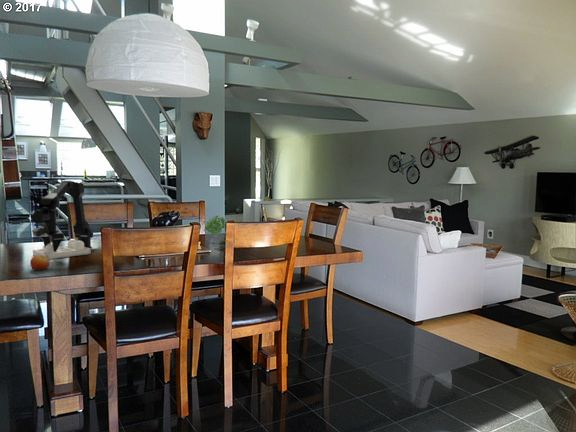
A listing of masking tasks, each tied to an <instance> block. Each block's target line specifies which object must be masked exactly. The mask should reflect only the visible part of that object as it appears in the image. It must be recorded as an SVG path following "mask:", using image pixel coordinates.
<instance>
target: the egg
mask: <svg viewBox="0 0 576 432" xmlns="http://www.w3.org/2000/svg"><path fill="white" fill-rule="evenodd" d="M44 249H45V252H46V253H55V252H54V250H53V245H52V243H50V244H47V245H46V247H45V246H44Z"/></svg>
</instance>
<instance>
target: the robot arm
mask: <svg viewBox="0 0 576 432" xmlns="http://www.w3.org/2000/svg"><path fill="white" fill-rule="evenodd" d="M67 192H68V194H69V196H70V197H72V202H73V203H72V204H73V209H74V215H75V223H74V225H72V227H73V233H74V236H75V237H74V238H76V240H77V241H78V240H80V241H83V243H84V247H87V248H93V246H92V244H91V243H92V241H91V240H92V239H91V238H94V232H93V231H92V229H91V228H90V224H89V223H88V221H87V220H86V216H85V209H84V204H83V203H84V202H83V195H84V193H85V185H84V183H82V182H81V181H80V182H79V181H72V180H67V179H66V180H65V179H64V180H62V181H61V183H60V184H58V186H57V187H55V189H54V190H53V192H51V193H50V194H47V195H45V196H44V197H42V198H41V200H40V203H39V205H38V207H37V208H36V210H34V211H35V212H34V213H33V214H32V216H31V221H33V222H34V224H41V226H39V227H37V228H34V229H32V230H31V232H32V234H33V237H36V238H40V239H41V240H42V242H43V245H44V248H45V247H46V245H47V244H50V242H52V245H53V250H54V252H56V251H57V249H58V247H60V244H61V243H62V241H63V240H64V239H65V234H64V233H63V232H59V230H57V231H56V228H57V226H59V223H58V222H57V213H58V212H59V210H58V209H57V207H58V206H59V205H60V202H61V201H60V200H61V198H62V197H63V196H64V195H65V194H66V193H67Z"/></svg>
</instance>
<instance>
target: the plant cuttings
mask: <svg viewBox="0 0 576 432" xmlns="http://www.w3.org/2000/svg"><path fill="white" fill-rule="evenodd" d="M225 220H226V219H225V218H224V217H223V216H222V217H219V215H218V214H216V215H212V217H211V218H209V219H208V220H207V221H206V224H204V229H203V232H205V235H207V234H208V233H210V234H211V235H213V236H214V238H211V239H210V241H209V242H210V243H213V242H214V241H215V239H216V238H217V237H219V236H220V234H221V235H222V236H223V237H224V238H225V237H226V235H225V234H224V233H222V229H225V227H226V221H225ZM223 242H226V240H224V239H223Z"/></svg>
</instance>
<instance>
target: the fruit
mask: <svg viewBox="0 0 576 432" xmlns="http://www.w3.org/2000/svg"><path fill="white" fill-rule="evenodd" d="M49 266H51V264H50V259H47V257H45V256H43V255H35V256H33V257H32V258H31V259H30V267H31V271H39V272H42V271H44V270H47V269H48V268H49Z"/></svg>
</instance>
